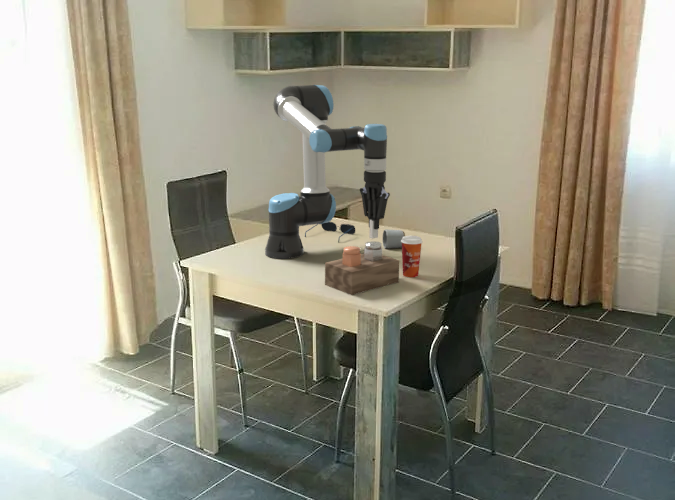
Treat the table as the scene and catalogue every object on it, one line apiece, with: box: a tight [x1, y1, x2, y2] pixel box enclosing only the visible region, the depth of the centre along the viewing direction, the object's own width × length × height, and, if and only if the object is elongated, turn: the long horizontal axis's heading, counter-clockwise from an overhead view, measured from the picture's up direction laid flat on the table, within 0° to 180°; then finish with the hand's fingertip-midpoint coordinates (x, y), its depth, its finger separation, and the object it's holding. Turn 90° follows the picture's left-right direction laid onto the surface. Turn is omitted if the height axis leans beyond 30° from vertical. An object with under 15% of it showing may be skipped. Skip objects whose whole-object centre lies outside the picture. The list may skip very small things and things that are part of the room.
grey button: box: [363, 241, 383, 262], centre depth 270 cm, size 6×6×8 cm
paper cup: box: [401, 235, 423, 279], centre depth 277 cm, size 8×8×14 cm
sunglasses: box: [304, 221, 356, 243], centre depth 331 cm, size 17×15×5 cm
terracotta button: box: [342, 245, 362, 267], centre depth 264 cm, size 6×6×8 cm
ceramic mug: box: [382, 229, 406, 249], centre depth 315 cm, size 11×8×8 cm
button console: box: [324, 253, 400, 296], centre depth 268 cm, size 14×22×8 cm, turn 130°
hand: (373, 237), depth 268 cm, fingers closed
